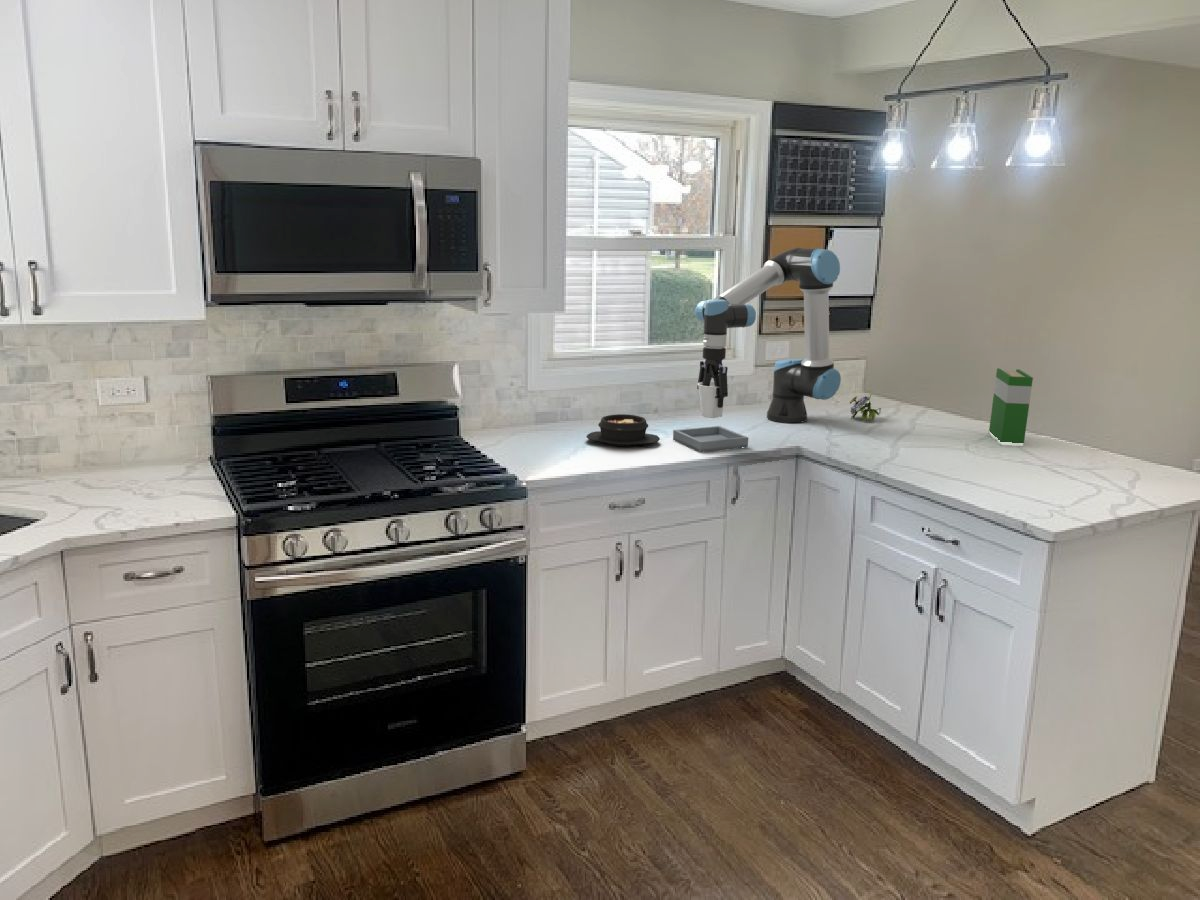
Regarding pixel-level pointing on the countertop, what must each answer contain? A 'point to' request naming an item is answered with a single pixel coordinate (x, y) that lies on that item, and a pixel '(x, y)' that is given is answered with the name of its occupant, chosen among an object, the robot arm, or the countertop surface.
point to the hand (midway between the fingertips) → (711, 414)
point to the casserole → (623, 431)
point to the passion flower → (861, 405)
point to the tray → (710, 438)
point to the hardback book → (1010, 405)
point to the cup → (707, 399)
